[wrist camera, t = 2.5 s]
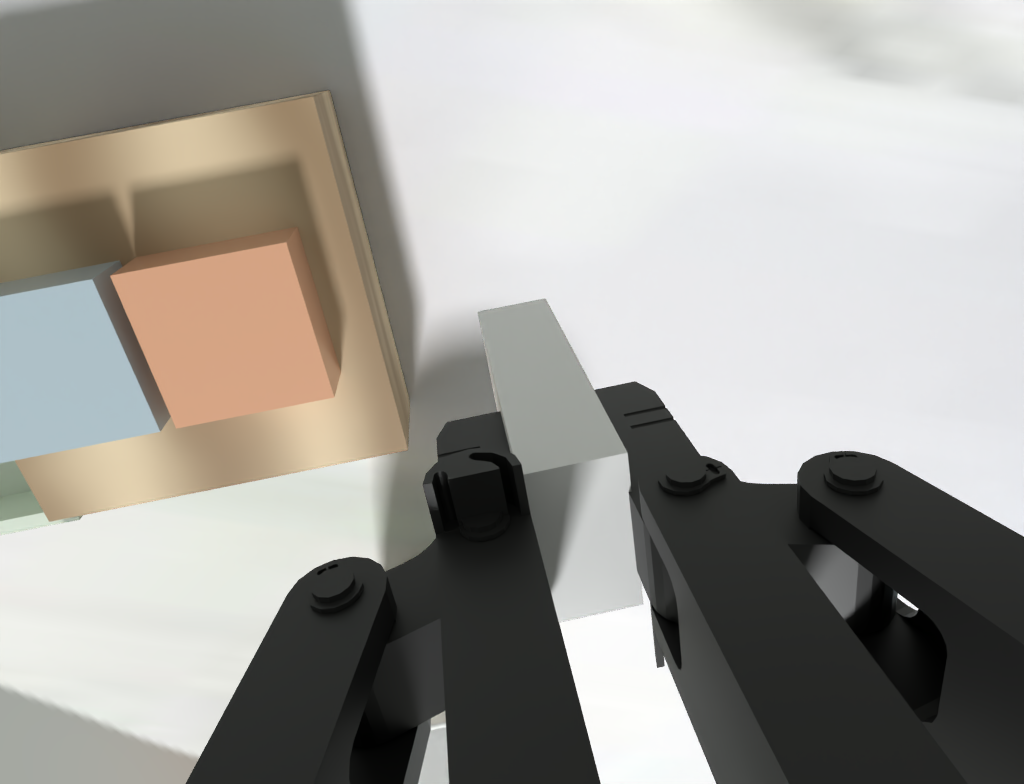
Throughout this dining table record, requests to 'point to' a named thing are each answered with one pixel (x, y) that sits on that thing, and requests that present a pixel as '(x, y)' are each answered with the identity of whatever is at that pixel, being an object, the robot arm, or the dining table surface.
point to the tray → (20, 503)
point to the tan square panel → (196, 221)
